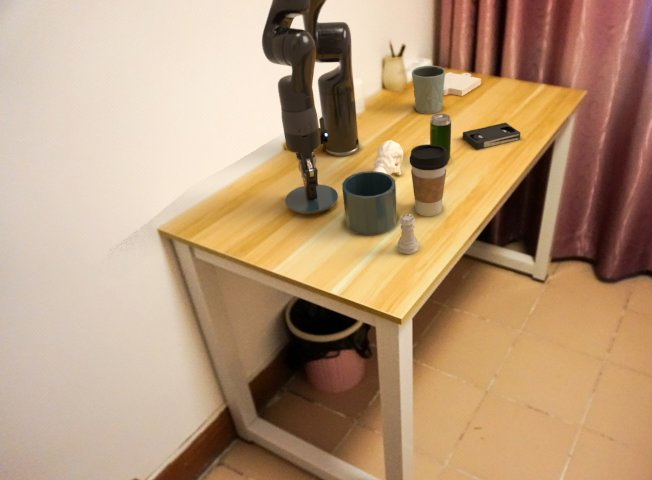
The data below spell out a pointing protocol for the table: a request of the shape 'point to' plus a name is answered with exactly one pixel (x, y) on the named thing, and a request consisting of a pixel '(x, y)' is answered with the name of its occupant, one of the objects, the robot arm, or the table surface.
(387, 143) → the white figurine
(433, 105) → the grey green tumbler
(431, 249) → the table surface
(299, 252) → the table surface
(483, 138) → the vhs tape
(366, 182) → the canister
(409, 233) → the rook chess piece
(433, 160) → the coffee cup
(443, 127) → the beer can
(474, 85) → the mounting plate
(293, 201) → the lid
